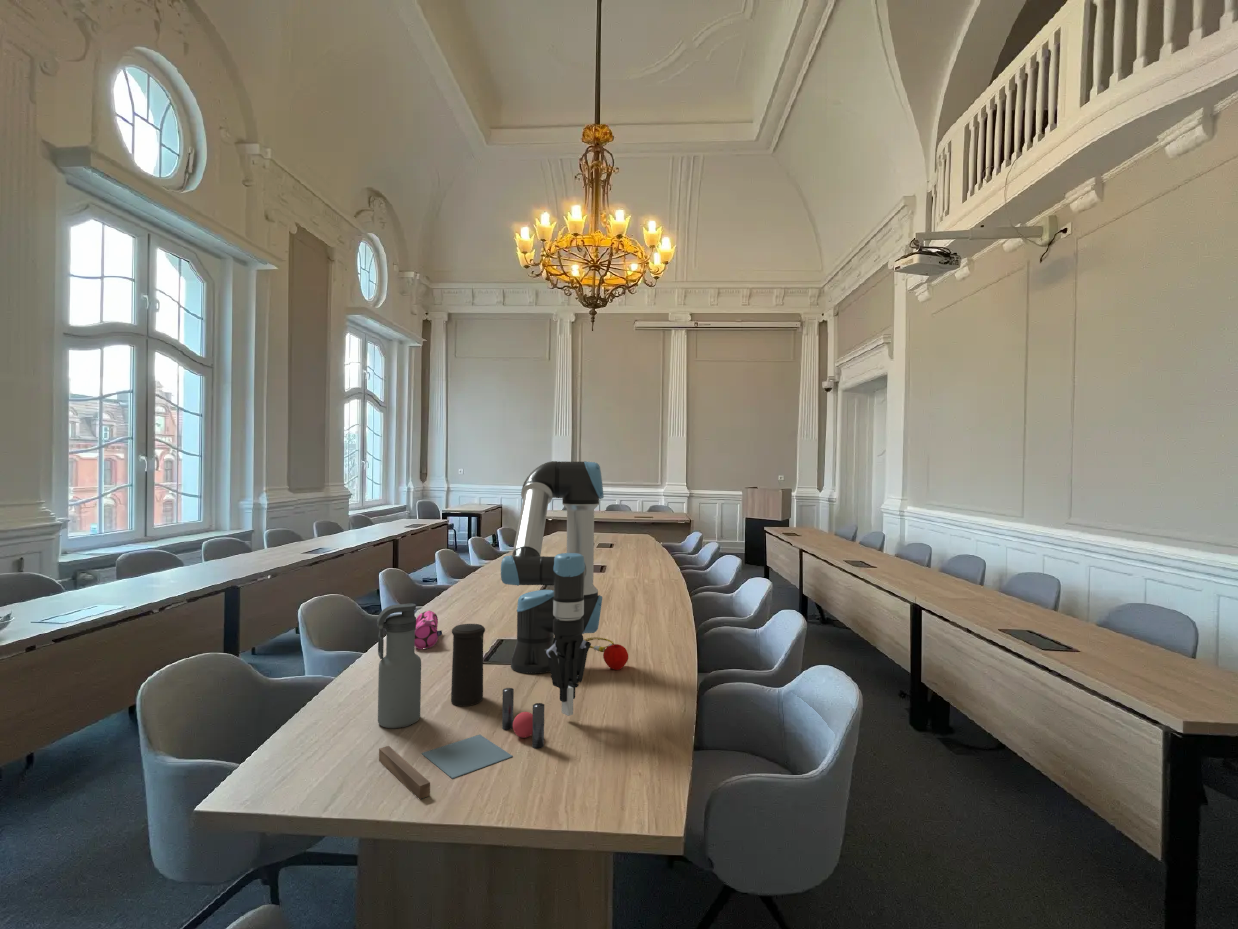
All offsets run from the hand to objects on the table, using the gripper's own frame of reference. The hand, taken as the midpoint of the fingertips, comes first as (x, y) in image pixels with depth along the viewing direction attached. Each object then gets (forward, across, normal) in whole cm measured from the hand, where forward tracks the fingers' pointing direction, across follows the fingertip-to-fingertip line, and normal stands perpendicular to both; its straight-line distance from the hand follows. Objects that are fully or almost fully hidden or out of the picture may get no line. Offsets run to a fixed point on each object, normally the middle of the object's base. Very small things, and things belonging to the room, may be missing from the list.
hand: (567, 713), depth 146 cm
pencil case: (+2, +4, +88) cm, 88 cm away
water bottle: (+2, -31, +27) cm, 41 cm away
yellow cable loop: (+3, +48, +45) cm, 66 cm away
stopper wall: (+2, -41, 0) cm, 41 cm away
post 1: (+2, -13, +6) cm, 15 cm away
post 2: (+2, -13, -6) cm, 15 cm away
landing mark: (+2, -27, 0) cm, 27 cm away
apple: (+2, +36, +22) cm, 42 cm away
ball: (-1, -13, 0) cm, 13 cm away
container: (+2, -12, +28) cm, 31 cm away
